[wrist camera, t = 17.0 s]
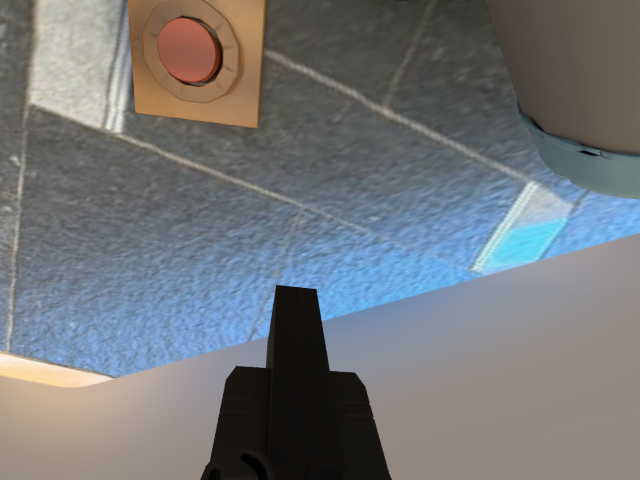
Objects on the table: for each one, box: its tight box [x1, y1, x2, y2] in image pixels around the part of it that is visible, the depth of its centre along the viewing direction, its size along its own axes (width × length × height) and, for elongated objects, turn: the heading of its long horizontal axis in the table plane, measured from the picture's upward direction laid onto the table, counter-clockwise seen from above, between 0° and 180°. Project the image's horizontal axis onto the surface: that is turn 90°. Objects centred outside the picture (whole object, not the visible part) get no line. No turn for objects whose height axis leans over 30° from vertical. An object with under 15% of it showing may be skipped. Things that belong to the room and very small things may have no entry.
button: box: [157, 18, 220, 82], centre depth 25 cm, size 4×4×2 cm
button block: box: [127, 0, 267, 128], centre depth 27 cm, size 10×10×4 cm
